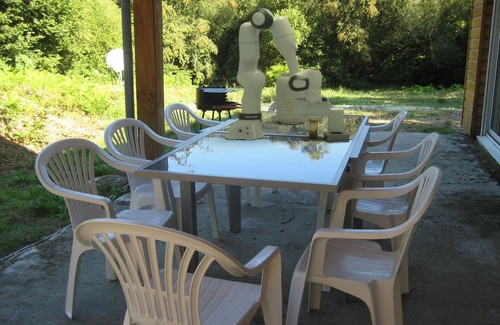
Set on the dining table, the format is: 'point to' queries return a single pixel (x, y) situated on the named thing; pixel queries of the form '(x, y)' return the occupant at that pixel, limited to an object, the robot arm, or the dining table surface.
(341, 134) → the housing
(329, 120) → the supplement box
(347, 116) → the dining table surface
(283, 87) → the vase
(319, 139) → the mat
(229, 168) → the dining table surface
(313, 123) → the knob
